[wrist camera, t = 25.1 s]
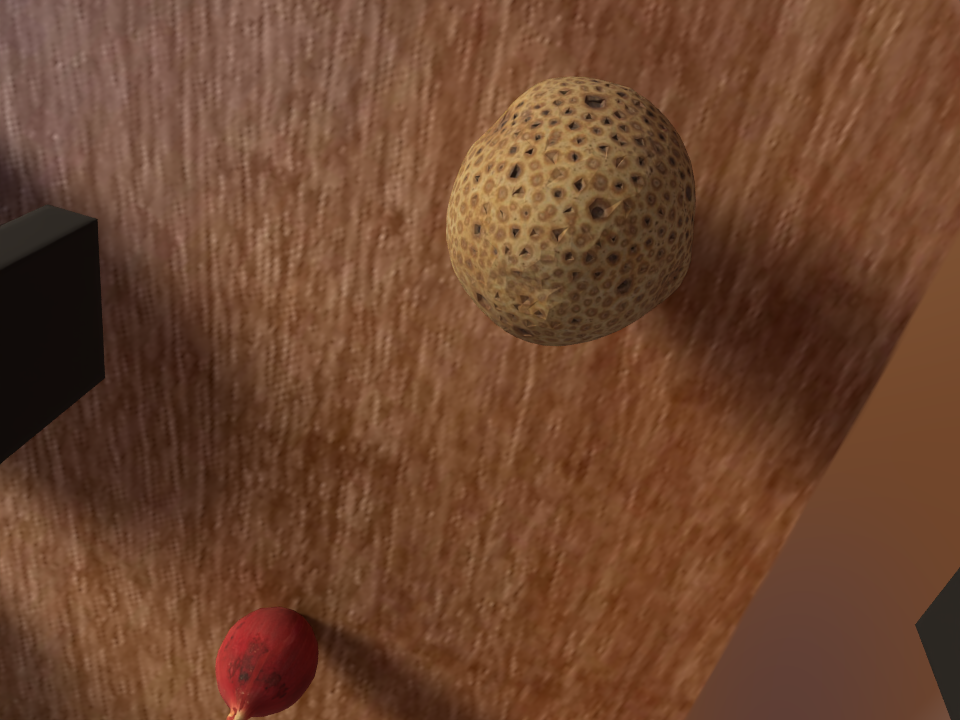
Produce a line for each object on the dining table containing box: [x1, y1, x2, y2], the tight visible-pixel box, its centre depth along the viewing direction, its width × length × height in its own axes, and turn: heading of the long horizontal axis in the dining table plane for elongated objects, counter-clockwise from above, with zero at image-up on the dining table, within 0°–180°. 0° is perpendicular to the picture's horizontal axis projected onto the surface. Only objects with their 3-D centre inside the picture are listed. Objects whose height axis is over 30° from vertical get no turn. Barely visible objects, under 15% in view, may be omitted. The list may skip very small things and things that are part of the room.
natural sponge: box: [446, 77, 696, 346], centre depth 28 cm, size 9×9×10 cm
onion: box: [215, 607, 318, 720], centre depth 45 cm, size 6×6×8 cm
